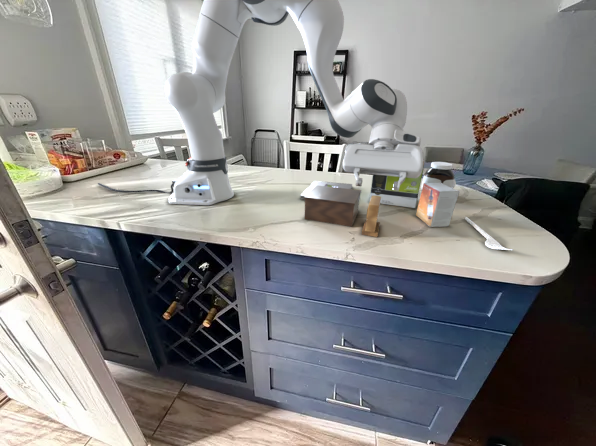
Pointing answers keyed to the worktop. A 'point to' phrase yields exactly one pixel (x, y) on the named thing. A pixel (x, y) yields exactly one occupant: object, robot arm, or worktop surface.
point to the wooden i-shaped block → (372, 218)
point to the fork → (487, 237)
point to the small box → (436, 204)
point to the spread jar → (440, 174)
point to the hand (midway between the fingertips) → (376, 187)
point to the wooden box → (332, 205)
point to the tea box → (403, 197)
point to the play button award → (329, 184)
